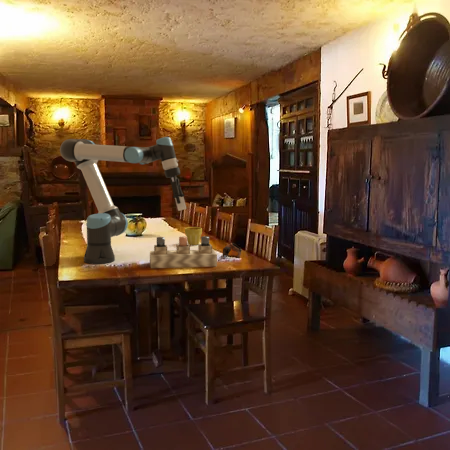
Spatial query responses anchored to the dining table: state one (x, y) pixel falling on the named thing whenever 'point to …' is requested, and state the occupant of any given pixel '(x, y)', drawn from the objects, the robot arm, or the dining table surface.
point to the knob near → (160, 241)
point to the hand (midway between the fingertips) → (182, 209)
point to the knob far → (205, 241)
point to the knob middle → (182, 241)
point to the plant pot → (193, 235)
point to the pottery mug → (234, 247)
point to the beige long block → (183, 257)
